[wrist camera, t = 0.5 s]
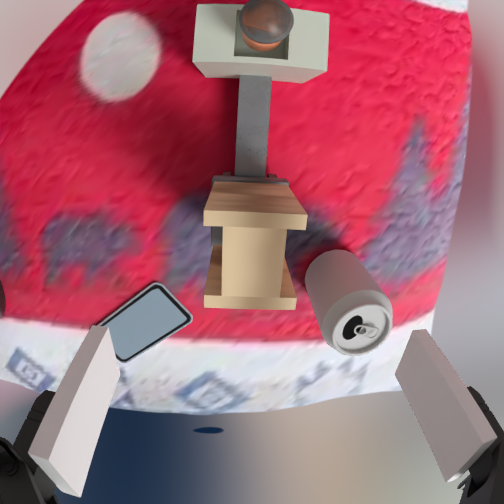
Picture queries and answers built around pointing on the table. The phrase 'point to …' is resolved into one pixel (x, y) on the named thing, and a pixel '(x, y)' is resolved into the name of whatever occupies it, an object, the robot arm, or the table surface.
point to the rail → (252, 125)
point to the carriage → (250, 242)
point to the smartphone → (145, 321)
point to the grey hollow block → (258, 62)
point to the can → (348, 303)
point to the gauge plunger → (265, 23)
